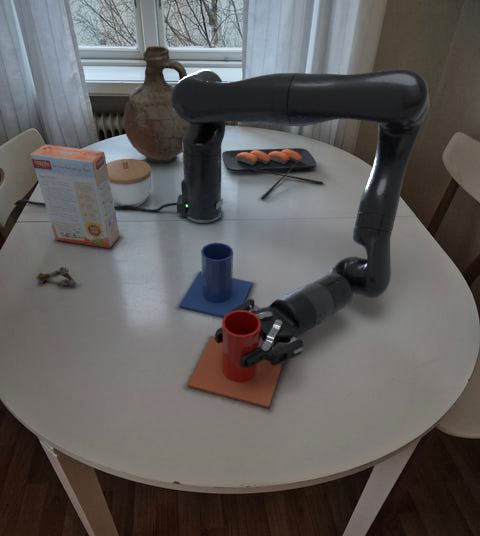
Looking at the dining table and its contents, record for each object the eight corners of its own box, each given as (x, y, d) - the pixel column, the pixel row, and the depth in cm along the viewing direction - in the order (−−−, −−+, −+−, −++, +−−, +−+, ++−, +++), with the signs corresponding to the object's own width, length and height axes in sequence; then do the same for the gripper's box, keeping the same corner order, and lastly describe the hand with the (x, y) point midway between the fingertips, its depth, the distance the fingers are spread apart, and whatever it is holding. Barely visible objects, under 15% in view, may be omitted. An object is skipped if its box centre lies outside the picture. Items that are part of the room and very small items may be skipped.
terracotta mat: (187, 387, 72) (187, 384, 71) (211, 338, 80) (211, 336, 80) (269, 408, 69) (269, 406, 69) (284, 355, 78) (285, 353, 77)
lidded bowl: (97, 206, 114) (88, 166, 106) (123, 186, 123) (117, 148, 115) (138, 217, 111) (132, 176, 103) (162, 196, 120) (159, 156, 112)
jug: (131, 143, 145) (117, 39, 125) (194, 143, 148) (191, 41, 127) (125, 171, 130) (108, 58, 109) (197, 170, 132) (193, 59, 111)
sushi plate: (305, 153, 145) (307, 141, 142) (334, 195, 123) (337, 183, 121) (220, 156, 140) (220, 144, 138) (235, 200, 119) (235, 188, 116)
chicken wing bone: (77, 286, 88) (63, 268, 86) (48, 293, 91) (34, 276, 89) (81, 281, 90) (68, 263, 87) (52, 287, 93) (39, 271, 90)
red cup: (217, 377, 73) (217, 331, 65) (228, 352, 77) (229, 306, 70) (251, 386, 72) (254, 340, 64) (260, 360, 76) (265, 314, 68)
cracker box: (120, 236, 104) (105, 150, 90) (109, 249, 100) (92, 161, 85) (68, 227, 106) (44, 142, 92) (54, 240, 102) (28, 152, 87)
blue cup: (198, 301, 88) (196, 257, 80) (208, 283, 92) (207, 240, 84) (226, 308, 87) (227, 263, 79) (235, 289, 91) (236, 246, 83)
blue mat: (179, 307, 86) (179, 305, 86) (200, 273, 95) (200, 271, 94) (236, 320, 84) (236, 318, 84) (252, 284, 92) (252, 282, 92)
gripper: (277, 273, 78) (202, 309, 70) (336, 316, 70) (259, 362, 62) (274, 303, 83) (203, 341, 76) (328, 347, 76) (255, 394, 68)
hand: (228, 350), depth 69 cm, fingers closed on red cup, 6 cm apart
